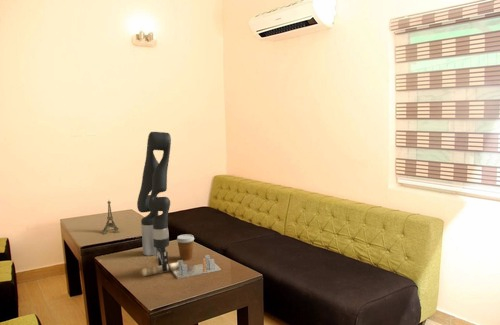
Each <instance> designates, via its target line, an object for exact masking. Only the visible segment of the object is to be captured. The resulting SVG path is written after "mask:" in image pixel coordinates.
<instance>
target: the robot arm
mask: <svg viewBox="0 0 500 325" xmlns="http://www.w3.org/2000/svg"><path fill="white" fill-rule="evenodd" d="M171 144H172V138H171V134H170V133H169V132H165V131H164V132H162V131H150V132H149V134H148V136H147V142H146V154H145V162H144V167H143V172H142V177H141V178H142V179H141V186H140V189H139V194H138V196H137V203H136V204H137V205H136V207H137V211H139V212H140V213H148V214H147V215H145V216H144V217H142V218H141V220H140V223H141V224H140V225H141V237H142V238H141V240H142V254H143V255H144V256H156V258H157V263H158V265H157V266H160V265H162V271H163V272H162V273H166V272H165V271H167V264H169V255H168V254H169V253H168V251H167V249H166V248H167V247H169V245H170V236H169V235H170V234H169V228H168V227H169V226H168V225H169V222H168V218H169V216H168V215H169V212H170V207H171V200H170V198H169V197H168V196H158V195H159V194H160V193H164V192H166V191H167V189H168V188H167V187H168V186H167V184H168V168H169V162H170V153H171V148H172V147H171ZM154 151H162V152H163V154H162V157H161V159H160V161H158V160H157V158H156V156H155V154H154ZM159 212H162V214H159ZM167 272H168V271H167Z"/></svg>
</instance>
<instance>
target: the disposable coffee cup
mask: <svg viewBox="0 0 500 325" xmlns="http://www.w3.org/2000/svg"><path fill="white" fill-rule="evenodd" d="M194 240H195V237H194V235H193V234H188V233H186V234H180V235H177V238H176V241H177V245H178V251H179V258H180V259H179V260H183V261H188V260H191V259H193V251H194Z"/></svg>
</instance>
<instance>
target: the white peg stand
mask: <svg viewBox="0 0 500 325" xmlns="http://www.w3.org/2000/svg"><path fill="white" fill-rule="evenodd" d="M176 262H177V264H178V269H173V270H172V271H171V272H172V274H173V275H174V276H175V278H176V279H177V280H178V279H182V278H188V277H193V276H199V275H203V274H207V273H213V272H218V271H221V270H222V268H221V267H220V266H219V265H217V263H216V262H215V259H214V258H211V255H210V254H206V255H204V256H203V258H202V263H199V264H195V265H189V266H188V264H186V263H184V260H181V259H179V260H177V261H176Z"/></svg>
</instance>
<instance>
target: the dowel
mask: <svg viewBox="0 0 500 325" xmlns="http://www.w3.org/2000/svg"><path fill="white" fill-rule="evenodd" d="M173 269H178V264H177V261H176V262H171V263H168V264H167V271H165V272H163V271H162V265H160V266H158V265H156V266H151V267H145V268H141V275H142V277H146V276H151V275H157V274H161V273H167V272H172V270H173Z"/></svg>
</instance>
